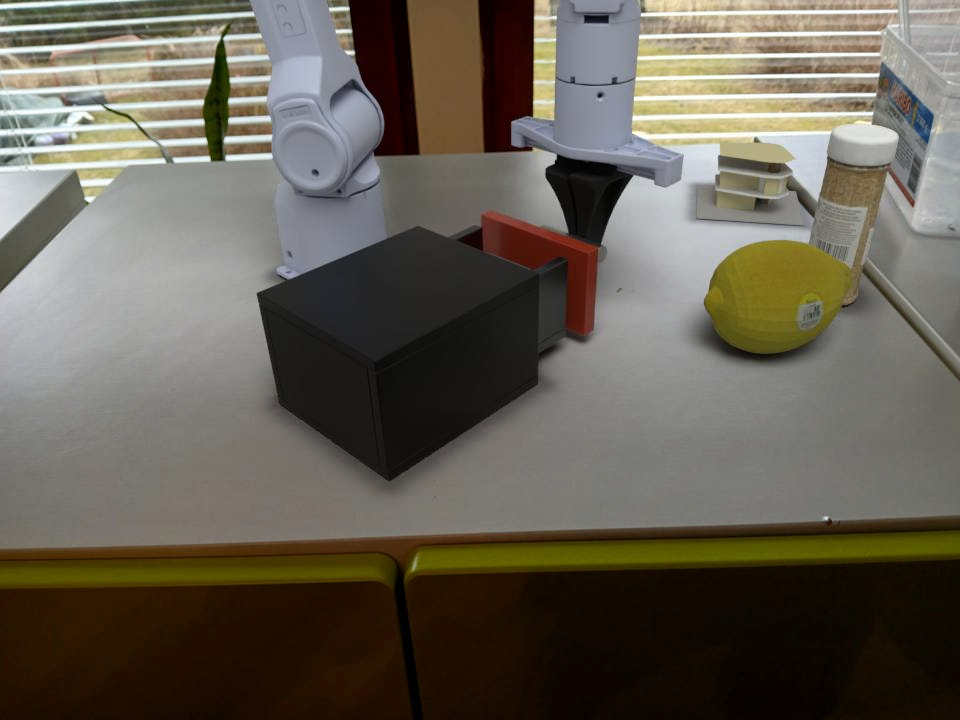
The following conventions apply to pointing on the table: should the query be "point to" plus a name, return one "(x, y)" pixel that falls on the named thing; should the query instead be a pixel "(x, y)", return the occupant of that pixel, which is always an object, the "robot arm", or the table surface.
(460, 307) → the black drawer cabinet
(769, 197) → the stacked layers on plate
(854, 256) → the seasoning bottle
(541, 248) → the red-fronted pull-out drawer
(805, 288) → the lemon
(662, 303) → the table surface
